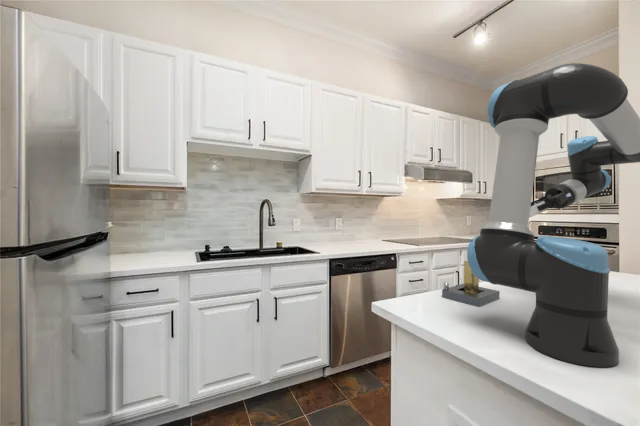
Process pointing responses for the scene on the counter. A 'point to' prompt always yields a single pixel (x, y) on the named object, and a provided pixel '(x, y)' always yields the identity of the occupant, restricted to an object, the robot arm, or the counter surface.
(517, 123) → the robot arm
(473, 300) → the jig
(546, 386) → the counter surface
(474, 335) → the counter surface
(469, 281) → the bushing
